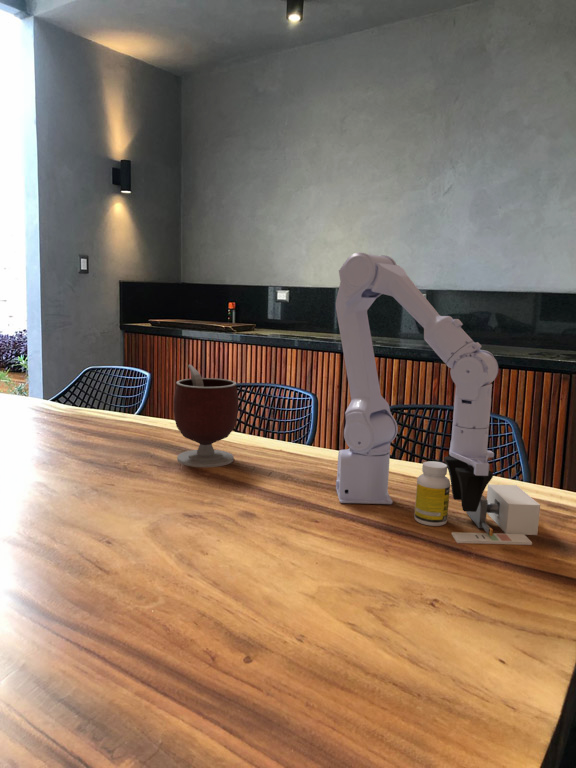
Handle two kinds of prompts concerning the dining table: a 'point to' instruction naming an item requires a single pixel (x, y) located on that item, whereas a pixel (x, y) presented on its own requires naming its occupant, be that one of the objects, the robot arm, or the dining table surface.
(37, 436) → the dining table surface
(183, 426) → the mate gourd
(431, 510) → the supplement bottle
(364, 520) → the dining table surface
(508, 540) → the gauge
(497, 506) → the plunger
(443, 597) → the dining table surface
